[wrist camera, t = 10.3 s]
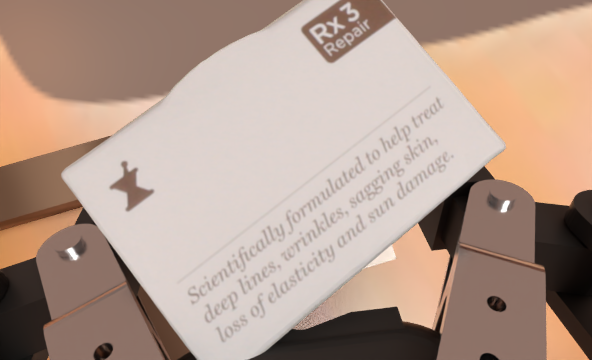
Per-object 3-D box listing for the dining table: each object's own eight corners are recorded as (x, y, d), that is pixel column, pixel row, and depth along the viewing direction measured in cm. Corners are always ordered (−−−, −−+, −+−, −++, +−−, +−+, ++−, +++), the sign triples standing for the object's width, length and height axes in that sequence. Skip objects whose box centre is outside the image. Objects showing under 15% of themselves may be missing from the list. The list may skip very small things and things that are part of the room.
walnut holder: (151, 138, 24) (135, 128, 21) (213, 374, 22) (203, 394, 20) (-84, 204, 23) (-129, 203, 21) (-35, 451, 22) (-77, 481, 19)
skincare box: (264, 284, 17) (215, 433, 5) (205, 208, 18) (30, 181, 5) (366, 202, 18) (538, 163, 6) (308, 129, 18) (353, -54, 6)
